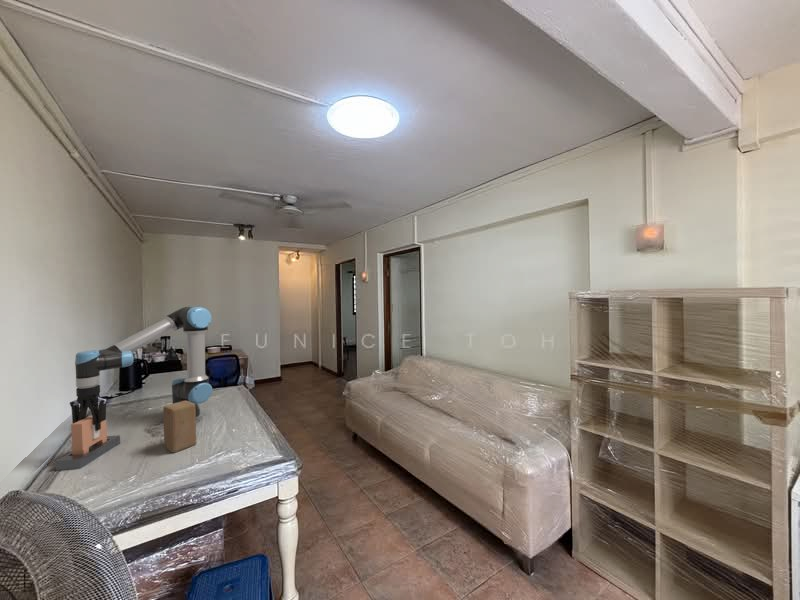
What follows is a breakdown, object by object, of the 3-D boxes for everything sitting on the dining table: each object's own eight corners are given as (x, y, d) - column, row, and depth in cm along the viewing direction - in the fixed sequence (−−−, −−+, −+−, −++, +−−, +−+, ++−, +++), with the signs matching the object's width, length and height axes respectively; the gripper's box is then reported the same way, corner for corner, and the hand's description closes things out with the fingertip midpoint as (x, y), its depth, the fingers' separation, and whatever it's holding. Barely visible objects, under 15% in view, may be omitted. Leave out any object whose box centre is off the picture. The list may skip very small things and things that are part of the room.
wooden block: (173, 453, 141) (172, 409, 140) (163, 448, 146) (162, 405, 146) (197, 444, 149) (196, 403, 149) (187, 439, 155) (186, 399, 154)
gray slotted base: (120, 443, 151) (119, 435, 151) (80, 468, 130) (80, 459, 130) (99, 444, 150) (98, 436, 150) (55, 470, 128) (55, 460, 128)
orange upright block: (107, 442, 147) (106, 412, 146) (83, 456, 134) (82, 423, 133) (96, 442, 146) (95, 413, 146) (71, 457, 133) (70, 424, 133)
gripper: (116, 382, 144) (117, 432, 145) (74, 384, 142) (75, 435, 142) (103, 387, 137) (104, 440, 137) (58, 389, 134) (60, 443, 135)
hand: (90, 437), depth 140 cm, fingers closed on orange upright block, 4 cm apart
